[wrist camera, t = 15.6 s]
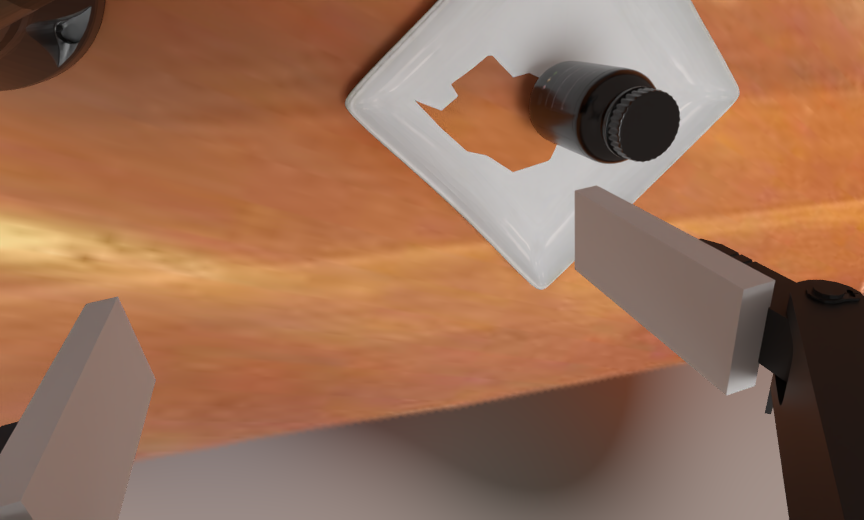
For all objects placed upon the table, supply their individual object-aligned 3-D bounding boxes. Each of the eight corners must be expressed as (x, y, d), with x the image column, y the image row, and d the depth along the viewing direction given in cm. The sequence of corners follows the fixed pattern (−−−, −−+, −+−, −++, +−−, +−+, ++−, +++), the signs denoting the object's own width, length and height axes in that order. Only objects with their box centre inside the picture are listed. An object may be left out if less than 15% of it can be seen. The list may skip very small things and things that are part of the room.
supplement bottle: (612, 92, 47) (712, 116, 37) (562, 156, 48) (646, 197, 38) (561, 40, 44) (655, 51, 34) (509, 110, 45) (585, 142, 35)
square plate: (571, -166, 42) (599, -181, 38) (717, 90, 55) (747, 96, 51) (334, 98, 45) (341, 105, 41) (527, 280, 58) (543, 297, 55)
